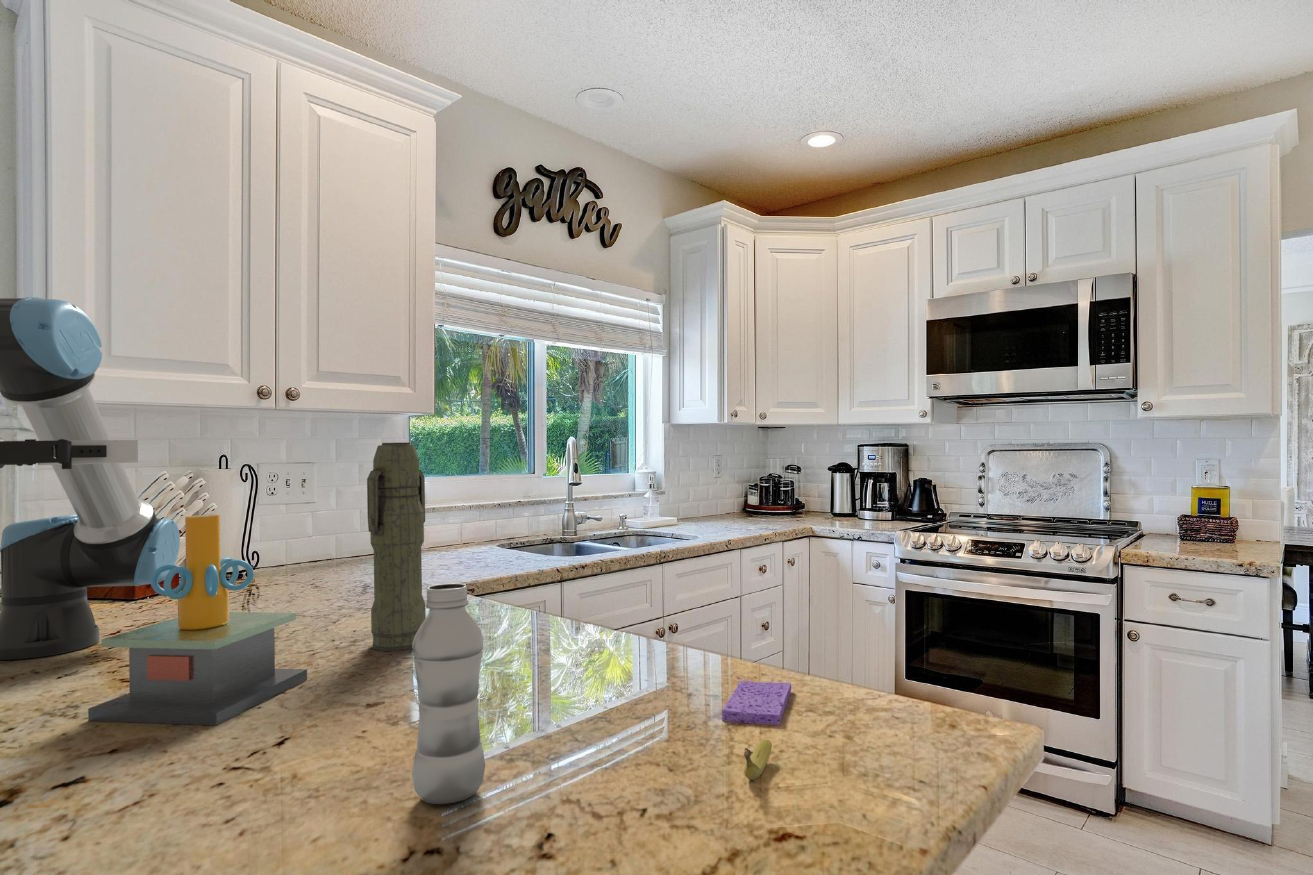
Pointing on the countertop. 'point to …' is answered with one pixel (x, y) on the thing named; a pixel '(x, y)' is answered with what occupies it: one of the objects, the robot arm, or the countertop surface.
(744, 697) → the sponges
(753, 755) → the banana
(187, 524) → the cylinder
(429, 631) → the plastic bottle
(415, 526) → the thermos
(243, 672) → the grey green pedestal stand
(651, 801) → the countertop surface
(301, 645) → the countertop surface
